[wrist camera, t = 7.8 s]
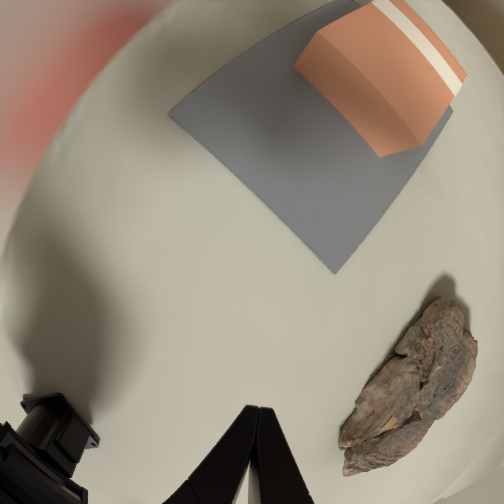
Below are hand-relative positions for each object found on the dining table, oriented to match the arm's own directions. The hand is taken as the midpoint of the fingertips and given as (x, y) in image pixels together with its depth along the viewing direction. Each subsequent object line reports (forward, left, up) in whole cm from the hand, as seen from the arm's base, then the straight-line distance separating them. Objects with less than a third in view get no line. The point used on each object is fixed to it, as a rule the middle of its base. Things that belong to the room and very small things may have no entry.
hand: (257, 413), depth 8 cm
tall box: (+13, +10, -8) cm, 18 cm away
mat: (+14, +11, -11) cm, 21 cm away
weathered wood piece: (+13, -17, -12) cm, 25 cm away
